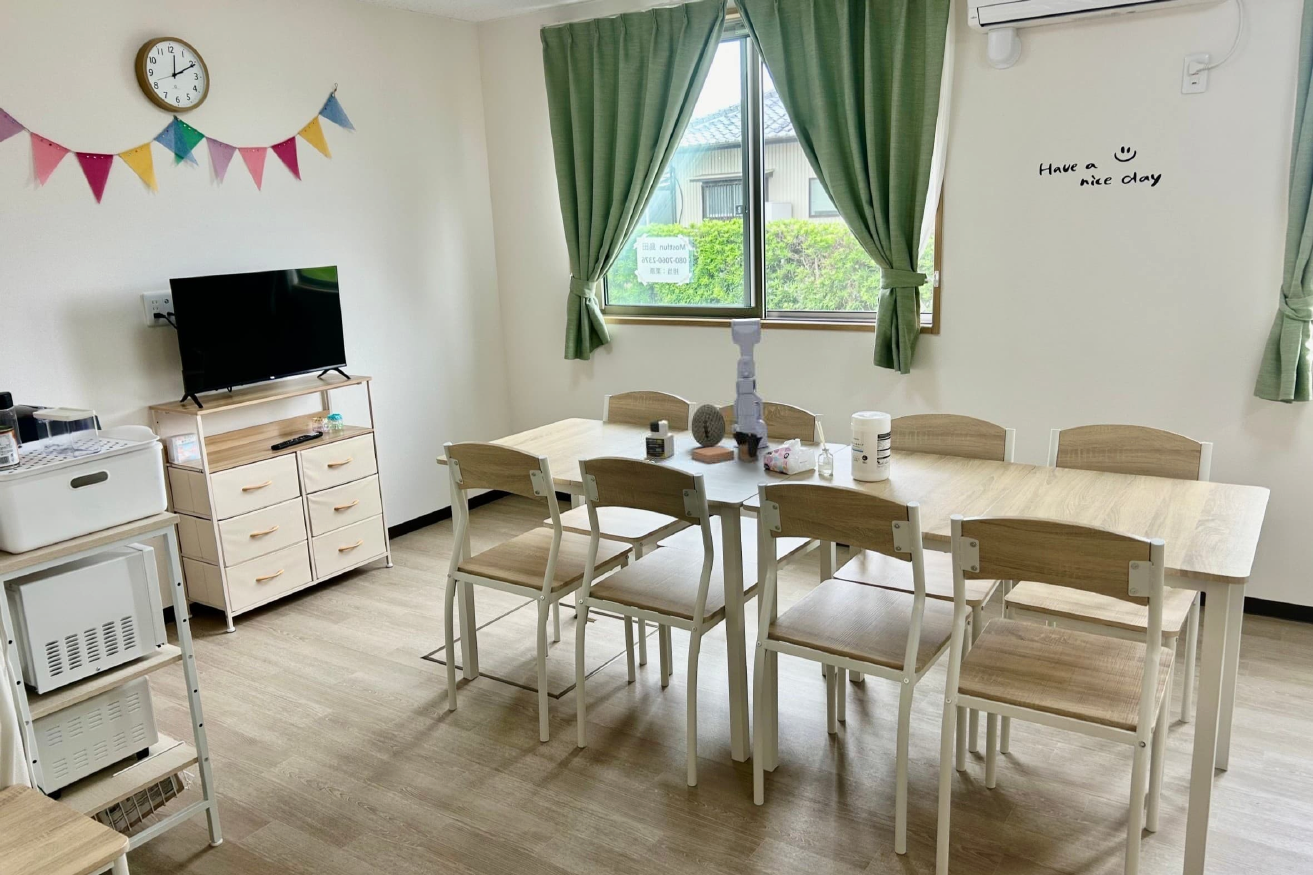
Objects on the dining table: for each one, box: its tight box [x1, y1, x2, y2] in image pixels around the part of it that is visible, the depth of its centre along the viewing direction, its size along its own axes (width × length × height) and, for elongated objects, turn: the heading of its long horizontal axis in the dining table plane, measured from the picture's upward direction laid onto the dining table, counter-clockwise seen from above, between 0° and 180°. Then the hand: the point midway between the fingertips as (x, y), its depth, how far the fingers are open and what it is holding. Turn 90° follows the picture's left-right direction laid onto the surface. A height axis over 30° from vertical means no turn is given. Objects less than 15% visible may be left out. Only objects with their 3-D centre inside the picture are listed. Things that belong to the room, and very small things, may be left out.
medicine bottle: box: [645, 419, 675, 460], centre depth 322 cm, size 7×7×12 cm
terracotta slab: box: [691, 445, 735, 464], centre depth 316 cm, size 10×10×3 cm
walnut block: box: [737, 443, 759, 463], centre depth 311 cm, size 5×5×5 cm
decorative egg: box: [690, 403, 726, 448], centre depth 332 cm, size 12×12×15 cm
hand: (748, 455), depth 311 cm, fingers closed on walnut block, 5 cm apart
